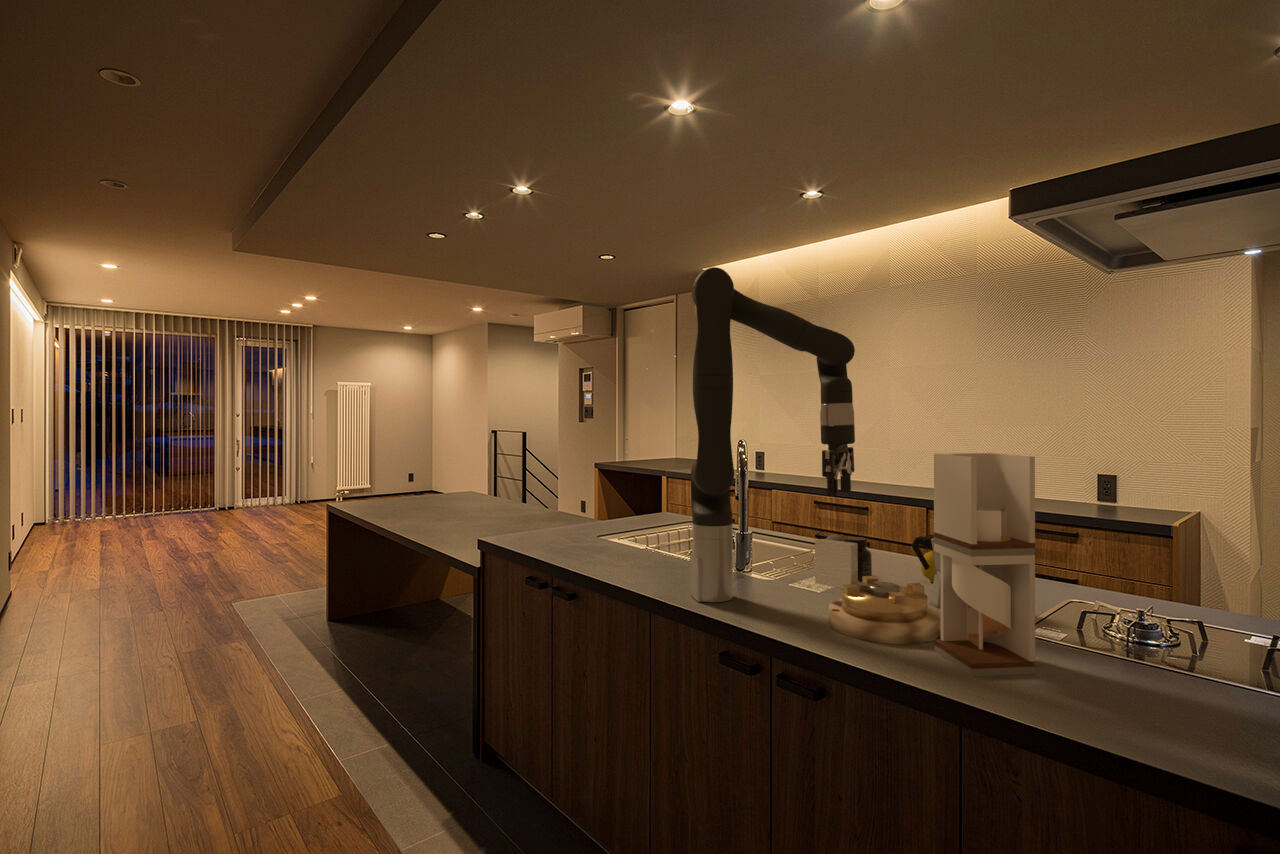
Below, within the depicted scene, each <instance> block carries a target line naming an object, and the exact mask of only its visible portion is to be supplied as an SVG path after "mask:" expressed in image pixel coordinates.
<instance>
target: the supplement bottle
mask: <svg viewBox="0 0 1280 854" xmlns="http://www.w3.org/2000/svg"><path fill="white" fill-rule="evenodd" d="M867 541H868V539H867V538H865V537H861V536H860V537H859V536H848V537H846V539H845V542H851V543H857V560H858V582H863V576H873V569H872V567H873V563H872V557H873V556H872V552H871V551H870V550H869V549H868V548H867V547H868V542H867Z"/></svg>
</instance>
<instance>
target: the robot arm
mask: <svg viewBox="0 0 1280 854" xmlns="http://www.w3.org/2000/svg"><path fill="white" fill-rule="evenodd" d="M733 282H734V281H733V280H732V277H731V276H730V274H729V273H728V272H727V271H726V270H725V269H723V268H720V267H717V266H716V267H713V266H711V267H708V268H706V269H704V270H703V271H701V272H699V274H698V276H696V278H695V280H694V283H693V286H692V290H691V298H692V300H693V303H694V305H695V307H696V319H697V321H696V322H697V334H696V342H695V349H694V353H693V354H694V355H693V363H692V365H693V366H692V401H693V409H694V414H695V419H696V420H695V421H696V425H697V433H698V434H697V435H698V439H697V440H698V441H697V454H696V455H697V456H696V459H695V461H694V462H693V463H692V465H691V469H690V500H691V501H690V504H691V515H692V516H691V517H692V518H691V519H692V554H690V556H689V574H690V575H689V581H690V582H689V586H690V588H689V589H690V590H689V593H690V597H692V598H693V599H694V600H695V601H696V602H701V603H702V602H705V603H724V602H729V601H731V600H733V598H734V587H733V586H734V571H733V570H734V565H733V563H734V558H733V557H734V555H733V550H734V548H733V547H734V546H733V545H734V544H733V541H734V540H733V538H734V537H733V533H734V531H733V529H734V528H733V510H732V505H731V504H732V503H731V487H732V485H733V484H734V480H735V469H734V460H733V459H734V458H733V450H732V438H731V437H732V435H731V434H732V432H731V429H732V419H733V401H734V399H733V398H734V367H733V366H734V365H733V363H734V362H733V350H732V339H731V321H734V322H737V323H739V324H742V325H744V326H747V327H748V328H751V329H753V330H755V331H757V332H759V333H761V334H763V335H765V336H767V337H769V338H772V339H773V340H775V341H776V342H779V343H781V344H783V345H785V346H787V347H788V348H791V349H793V350H795V351H798V352H806V353H809V354H811V355H813V356H816V365H817V371H818V377H819V382H820V411H819V419H820V420H819V423H820V443H821V444H822V445H827V449H824V450H822V451H821V475H822V476H821V477H823V478H825V479H826V487H827V490H826V491H827V496H828V497H837V496H838V495H839V483H838V477H839V474H840V491H841V492H843V493H844V492H845V493H850V492H851V491H852V482H851V480H852V479H851V477H852V475H853V473H854V472H855V458H854V457H855V455H854V454H855V453H854V447H853V446H848V445H852V444H855V442H856V432H855V430H856V429H855V428H856V427H855V411H854V410H855V409H854V404H853V402H854V401H853V384H852V380H850V379H849V377H848V369H847V368H848V367H847V364H849V363H850V362H851V361H852V360H853V358H854V356H855V353H856V351H855V345H854V343H853V341H851V339H850V338H849V337H847V336H846V335H844V334H842V333H840V332H838V331H835V330H832V329H828V328H826V327H822V326H819V325H816V324H814V323H812V322H811V321H808V320H806V319H804V318H803V317H800V316H798V315H796V314H795V313H793V312H790V311H789V310H786V309H782V308H780V307H776V306H773V305H770V304H767V303H763V302H760V301H757V300H756V299H752V298H750V297H748V296H747V295H745V294H743V293H741V292H740V291H738V290H737V289H735V287H734V286H735V285H734V283H733Z"/></svg>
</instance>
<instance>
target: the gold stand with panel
mask: <svg viewBox="0 0 1280 854" xmlns="http://www.w3.org/2000/svg"><path fill="white" fill-rule="evenodd" d="M814 584H816V585H817V584H818V585H822V586H828V587H834V588H839V589H840V588H841V590H840V591H841V592H840V594H841V595H840V596H841V597H840V599H841V607H842V609H843V610H844V611H846V612H847V613H849V614H852V615H855V616H858V617H861V618H866V619H871V620H877V621H888V622H908V621H916V620H920V619H923V618H925V617H926V616H927V606H928V596H927V594H925V585H924V584H922V583H919V582H912V583H911V582H910V583H909V582H908V583H907V582H906V586H904V585H899V584H896V583H893V582H889V581H879V578H878V577H876V576H874V575H872V576H863V582H858V560H857V543H851V542H846V541H845V542H843V541H835V540H827V539H826V538H820V539H815V540H814Z"/></svg>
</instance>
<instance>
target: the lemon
mask: <svg viewBox="0 0 1280 854" xmlns="http://www.w3.org/2000/svg"><path fill="white" fill-rule="evenodd" d="M923 556H924V557H925V559H926V561H927V563H928V564H929V566H930V568H928V569H927V570H925V569H924V567H923V565H922V563H921V562H920V571H921V574H922V575H923V576H924V578H926V579H928V580H929V581H930V582H931V583H933V582H934V576H935V574H936V573H937V570H936V569H935V566H934V558H933V551H931V550H929V551H928V552H925V553H924V554H923Z"/></svg>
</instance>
